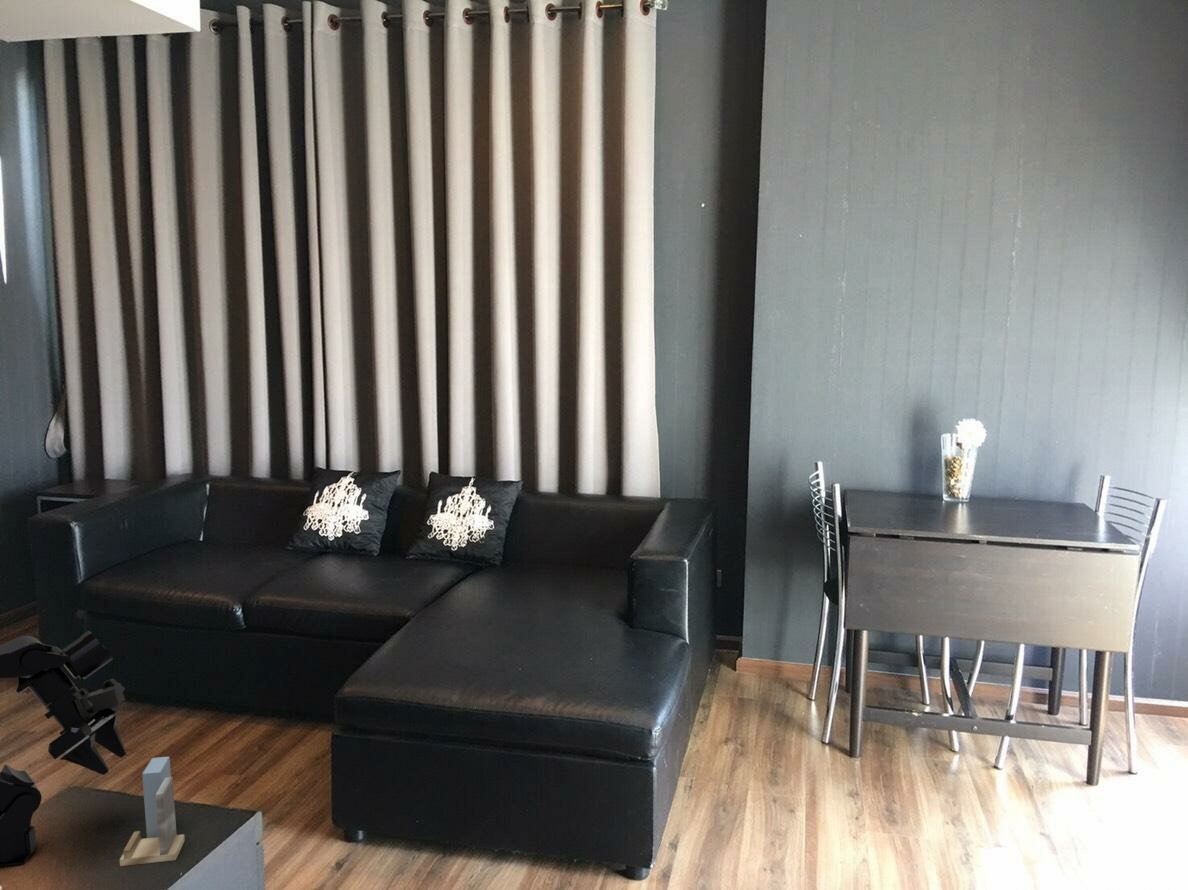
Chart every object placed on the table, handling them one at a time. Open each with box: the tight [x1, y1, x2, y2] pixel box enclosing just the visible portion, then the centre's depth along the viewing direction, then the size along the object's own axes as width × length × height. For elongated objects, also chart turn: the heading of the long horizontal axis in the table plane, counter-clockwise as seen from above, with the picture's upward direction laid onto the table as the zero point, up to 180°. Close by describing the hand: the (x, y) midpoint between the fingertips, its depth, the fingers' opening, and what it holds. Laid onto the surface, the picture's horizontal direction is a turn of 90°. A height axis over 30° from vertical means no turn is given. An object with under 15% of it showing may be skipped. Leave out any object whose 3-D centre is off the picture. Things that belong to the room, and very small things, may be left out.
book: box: [141, 756, 172, 838], centre depth 173 cm, size 3×6×13 cm, turn 11°
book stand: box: [119, 776, 186, 867], centre depth 166 cm, size 9×6×12 cm
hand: (115, 764), depth 170 cm, fingers open, 9 cm apart
